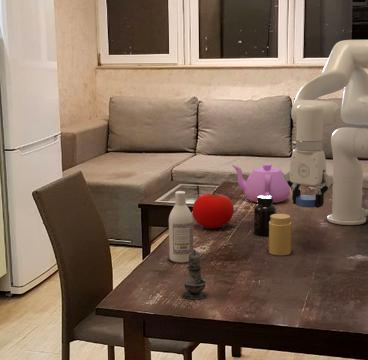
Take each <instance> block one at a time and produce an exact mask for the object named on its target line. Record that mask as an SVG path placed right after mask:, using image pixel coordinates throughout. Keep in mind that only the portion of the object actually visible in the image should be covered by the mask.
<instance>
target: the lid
mask: <svg viewBox="0 0 368 360" xmlns="http://www.w3.org/2000/svg"><path fill="white" fill-rule="evenodd" d="M315 200H316V194H301V195H299V196H296V204H295V205H296V206H297V207H300V208H307V209H308V208H316V207H315Z"/></svg>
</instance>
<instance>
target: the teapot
mask: <svg viewBox="0 0 368 360" xmlns="http://www.w3.org/2000/svg"><path fill="white" fill-rule="evenodd" d="M231 167H233V168H234V169H235V171H236V175H237V185H238V187H239V189H240V190H241V191H243V193H244V195H245V197H246V198H247V199H248V200H249V201H251V202H255V203H257V201H258V196H271V197H273V203H274V204H276V203H277V204H278V203H281V202H284V201H285V200H286V199H287V198H288V197H289V196H290V194H291V188H290V186H289V185H288V183H287V182H286V180H285V179H284V176H285V174H284V173H283V171H282V169H281V168H278V167H272V164H271V163H263V164H262V167H256V168H254V169H253V170H252V171H251V173H250V174H249V176H248V178H247V179H246V180H245V179H244V177H243V170H242V168H241V167H239V166H238V165H233V164H232V165H231Z"/></svg>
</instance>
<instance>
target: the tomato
mask: <svg viewBox="0 0 368 360" xmlns="http://www.w3.org/2000/svg"><path fill="white" fill-rule="evenodd" d="M234 210H235V208H234V204H233V202H232V200H231V199H230V198H229V197H228V196H227V195H225V194H223V193H222V194H221V193H216V192H207V193H203V194H201V195H200V196H198V197H197V198H196V199H195V200H194V202H193V204H192V217H193V219H194V220H195V221H196V223H197V224H198V225H200V226H201V227H204V228H206V229H213V230H214V229H219V228H222V227H224V226H226V225H227V224H228V223H229V222H231V219H232V217H233V215H234Z"/></svg>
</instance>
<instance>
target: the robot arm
mask: <svg viewBox="0 0 368 360" xmlns="http://www.w3.org/2000/svg"><path fill="white" fill-rule="evenodd" d="M364 68H368V39H346V40H345V39H344V40H343V39H342V40H340V41H337V42H336V43H335V44H334V45H333V47H332V49H331V52H330V54H329V56H328V58H327V60H326V63H325V65H324V67H323V70H322V72H321V73H320V74H318V75H316V76H315V77H312V79H310V80H309V81H307V82H306V83H304V85H303V86H301V88H300V89H299V90H298V92H297V94H296V96H295V99H294V101H293V103H292V106H291V111H290V115H291V119H292V121H293V122H294V123H295V124H296V127H295V129H296V130H295V132H296V133H295V140H293V141H292V145H293V146H295V149H293V151H292V153H291V158H290V164H289V165H290V166H289V167H290V168H289V171H288V172H287V173H286V174H284V179H285V180H286V182H287V183H288V185H289V188H290V191H291V192H292V197H291V198H292V204H293V205H296V196H299V195H302V194H301V193H302V192H301V189H300V187H301V185H302V186H311V187H314V188H315V190H316V194H315V196H316V200H315V207H314V208H317V209H319V208H321V207H323V205H324V204H325V202H324V200H325V199H324V198H325V194H326V192H327V191H328V190H330V188H332V199H331V202H332V204H331V207H332V208H331V214H328V215H327V216H326V220H327V221H328V222H329V223H332V224H335V225H340V226H356V225H357V226H359V225H362V224H365V223H366V222H367V216H368V208H366V209H365V208H364V207H363V184H364V183H363V182H364V168H363V166H362V164H361V162H360V161H359V159H358V158H363V159H364V158H365V159H368V128H367V127H366V128H365V127H364V128H363V127H350V126H348V127H347V126H346V127H345V126H344V127H340V128H339V127H338V128H337V129H335V130H334V131H333V132H332V134H331V136H330V147H331V152H332V169H333V170H332V178H331V176H329V175H328V173H327V161H326V159H327V158H326V155H325V154H326V153H325V151H324V150H323V137H324V136H323V134H324V132H323V131H324V127H332V126H335V125H336V124H337V123H338V122H339V120H340V119H341V121H342V122H344V123H345V124H348V125H357V126H358V125H360V126H368V73H367V71H366V70H365V69H364ZM342 90H343V95H342V102H341V108H340V106H339V104H338V103H337V102H335V101H332V100H318V98H321V97H324V96H327V95H330V94H331V95H332V94H334V93H336V92H339V91H342ZM325 183H326V184H325ZM324 184H325V185H324Z"/></svg>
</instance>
